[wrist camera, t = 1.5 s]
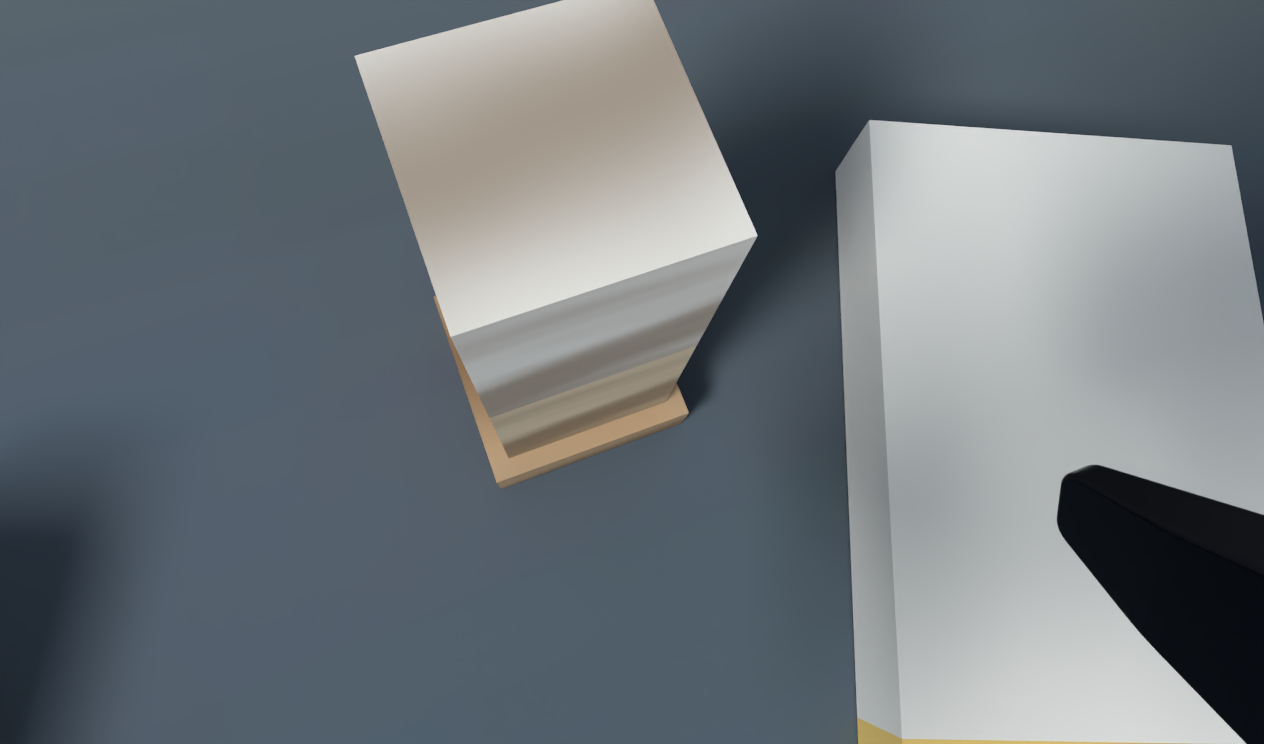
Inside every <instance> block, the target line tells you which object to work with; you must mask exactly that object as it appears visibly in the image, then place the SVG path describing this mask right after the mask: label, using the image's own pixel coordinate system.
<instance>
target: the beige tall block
mask: <svg viewBox="0 0 1264 744" xmlns="http://www.w3.org/2000/svg"><path fill="white" fill-rule="evenodd" d="M355 59H356V62H357V65H358V68H359V71H360V74H361V76H362V79H363V82H364V85H365V88H366V91H367V94H368V97H369V100H370V103H371V106H372V109H373V112H374V115H375V117H376V120H377V123H378V126H379V129H380V132H381V135H382V138H383V141H384V144H385V147H386V150H387V153H388V156H389V159H390V161H391V164H392V167H393V170H394V173H395V176H396V179H397V182H398V185H399V188H400V191H401V194H402V197H403V200H404V203H405V205H406V208H407V211H408V214H409V217H410V220H411V223H412V226H413V229H414V232H415V235H416V238H417V241H418V244H419V247H420V249H421V252H422V255H423V258H424V261H425V264H426V267H427V270H428V273H429V276H430V279H431V282H432V285H433V288H434V290H435V293H436V296H434V300H435V303H436V305H437V308H438V311H439V314H440V317H441V320H442V323H443V326H444V329H445V332H446V335H447V338H448V341H449V344H450V347H451V350H452V352H453V355H454V358H455V361H456V364H457V367H458V370H459V373H460V376H461V379H462V382H463V385H464V388H465V391H466V394H467V397H468V400H469V402H470V405H471V408H472V411H473V414H474V417H475V420H476V423H477V426H478V429H479V432H480V435H481V438H482V441H483V444H484V447H485V450H486V452H487V455H488V458H489V461H490V464H491V467H492V470H493V473H494V476H495V479H496V482H497V484H498V485H499V486H500V488H501V489H503V488H505V487H508V486H511V485H514V484H516V483H519V482H522V481H525V480H527V479H530V478H533V477H536V476H538V475H541V474H544V473H547V472H549V471H552V470H555V469H557V468H560V467H563V466H566V465H568V464H571V463H574V462H577V461H579V460H582V459H585V458H588V457H590V456H593V455H596V454H599V453H601V452H604V451H607V450H610V449H612V448H615V447H618V446H620V445H623V444H626V443H629V442H631V441H634V440H637V439H640V438H642V437H645V436H648V435H651V434H653V433H656V432H659V431H662V430H664V429H667V428H670V427H672V426H675V425H678V424H681V423H682V422H683V420H684V419H685V418H686V416H687V415H688V413H689V412H688V410H687V407H686V405H685V402H684V400H683V397H682V395H681V392H680V390H679V387H678V385H677V380H678V379H679V377H680V375H681V373H682V371H683V370H684V368H685V366H686V364H687V362H688V361H689V359H690V357H691V355H692V353H693V352H694V350H695V348H696V346H697V344H698V342H699V341H700V339H701V337H702V335H703V333H704V332H705V330H706V328H707V326H708V324H709V323H710V321H711V319H712V317H713V315H714V314H715V312H716V310H717V308H718V306H719V305H720V303H721V301H722V299H723V297H724V296H725V294H726V292H727V290H728V288H729V287H730V285H731V283H732V281H733V279H734V278H735V276H736V274H737V272H738V270H739V269H740V267H741V265H742V263H743V261H744V259H745V258H746V256H747V254H748V252H749V250H750V249H751V247H752V245H753V243H754V241H755V240H756V238H757V236H758V235H757V233H756V231H755V228H754V226H753V224H752V222H751V219H750V217H749V215H748V213H747V210H746V208H745V206H744V204H743V201H742V199H741V197H740V195H739V192H738V190H737V188H736V185H735V183H734V181H733V179H732V176H731V174H730V172H729V170H728V167H727V165H726V163H725V161H724V158H723V156H722V154H721V152H720V149H719V147H718V145H717V143H716V140H715V138H714V136H713V134H712V131H711V129H710V127H709V125H708V122H707V120H706V118H705V116H704V113H703V111H702V109H701V107H700V104H699V102H698V100H697V98H696V95H695V93H694V91H693V88H692V86H691V84H690V82H689V79H688V77H687V75H686V73H685V70H684V68H683V66H682V64H681V61H680V59H679V57H678V55H677V52H676V50H675V48H674V46H673V43H672V41H671V39H670V37H669V34H668V32H667V30H666V28H665V25H664V23H663V21H662V19H661V16H660V14H659V12H658V10H657V7H656V5H655V3H654V0H563V1H559V2H555V3H552V4H548V5H544V6H540V7H537V8H533V9H529V10H525V11H522V12H518V13H514V14H510V15H507V16H503V17H499V18H495V19H491V20H488V21H484V22H480V23H476V24H473V25H469V26H465V27H461V28H458V29H454V30H450V31H446V32H443V33H439V34H435V35H431V36H428V37H424V38H420V39H416V40H412V41H409V42H405V43H401V44H397V45H394V46H390V47H386V48H382V49H379V50H375V51H371V52H367V53H364V54H360V55H356V56H355Z"/></svg>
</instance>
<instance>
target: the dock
mask: <svg viewBox="0 0 1264 744" xmlns="http://www.w3.org/2000/svg"><path fill="white" fill-rule="evenodd" d="M835 176H836V200H837V225H838V250H839V275H840V300H841V325H842V350H843V375H844V399H845V424H846V449H847V474H848V499H849V524H850V549H851V574H852V598H853V623H854V648H855V673H856V698H857V723H858V744H1246V743H1245V742H1244V741H1243V740H1242V739H1241V738H1240V737H1239V736H1238V735H1237V734H1236V733H1235V732H1234V731H1233V730H1232V729H1231V727H1230V726H1229V725H1228V724H1227V723H1226V722H1225V721H1224V720H1223V719H1222V718H1221V717H1220V716H1219V715H1218V714H1217V713H1216V712H1215V711H1214V710H1213V709H1212V708H1211V707H1210V706H1209V705H1208V704H1207V703H1206V702H1205V701H1204V700H1203V699H1202V698H1201V696H1200V695H1199V694H1198V693H1197V692H1196V691H1195V690H1194V689H1193V688H1192V687H1191V686H1190V685H1189V684H1188V683H1187V682H1186V681H1185V680H1184V679H1183V678H1182V677H1181V676H1180V675H1179V674H1178V673H1177V672H1176V671H1175V670H1174V669H1173V668H1172V667H1171V666H1170V664H1169V663H1168V662H1167V661H1166V660H1165V659H1164V658H1163V657H1162V656H1161V655H1160V654H1159V653H1158V652H1157V651H1156V650H1155V649H1154V648H1153V647H1152V646H1151V645H1150V643H1149V642H1148V641H1147V640H1146V639H1145V638H1144V637H1143V636H1142V635H1141V634H1140V632H1139V631H1138V630H1137V629H1136V628H1135V627H1134V625H1133V624H1132V623H1131V622H1130V621H1129V620H1128V618H1127V617H1126V616H1125V615H1124V613H1123V612H1122V611H1121V610H1120V608H1119V607H1118V606H1117V605H1116V603H1115V602H1114V601H1113V600H1112V598H1111V597H1110V596H1109V595H1108V593H1107V592H1106V591H1105V590H1104V588H1103V587H1102V586H1101V585H1100V583H1099V582H1098V581H1097V580H1096V578H1095V577H1094V576H1093V575H1092V573H1091V572H1090V571H1089V570H1088V568H1087V567H1086V566H1085V565H1084V563H1083V562H1082V561H1081V560H1080V558H1079V557H1078V556H1077V555H1076V553H1075V552H1074V551H1073V550H1072V548H1071V547H1070V546H1069V545H1068V543H1067V542H1066V541H1065V540H1064V538H1063V537H1062V535H1061V533H1060V531H1059V528H1058V525H1057V511H1058V503H1059V495H1060V487H1061V482H1062V479H1063V477H1064V476H1065V475H1066V474H1068V473H1070V472H1073V471H1075V470H1077V469H1080V468H1082V467H1085V466H1088V465H1101V466H1105V467H1108V468H1111V469H1115V470H1118V471H1121V472H1124V473H1128V474H1131V475H1134V476H1138V477H1141V478H1144V479H1147V480H1151V481H1154V482H1157V483H1161V484H1164V485H1167V486H1170V487H1174V488H1177V489H1180V490H1184V491H1187V492H1190V493H1193V494H1197V495H1200V496H1203V497H1207V498H1210V499H1213V500H1216V501H1220V502H1223V503H1226V504H1230V505H1233V506H1236V507H1240V508H1243V509H1246V510H1249V511H1253V512H1256V513H1259V514H1263V515H1264V323H1263V317H1262V312H1261V306H1260V301H1259V295H1258V290H1257V284H1256V279H1255V273H1254V268H1253V262H1252V257H1251V251H1250V246H1249V240H1248V235H1247V229H1246V224H1245V218H1244V213H1243V207H1242V202H1241V196H1240V190H1239V185H1238V179H1237V174H1236V168H1235V163H1234V157H1233V152H1232V146H1231V145H1218V144H1204V143H1190V142H1175V141H1161V140H1147V139H1133V138H1119V137H1104V136H1090V135H1076V134H1062V133H1048V132H1033V131H1019V130H1005V129H991V128H976V127H962V126H948V125H934V124H920V123H905V122H891V121H877V120H869V121H868V123H867V124H866V126H865V127H864V129H863V130H862V132H861V133H860V135H859V136H858V138H857V139H856V141H855V142H854V144H853V145H852V147H851V148H850V150H849V151H848V153H847V155H846V156H845V158H844V159H843V161H842V162H841V164H840V165H839V167H838V168H837V170H836V171H835Z"/></svg>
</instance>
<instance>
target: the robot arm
mask: <svg viewBox="0 0 1264 744" xmlns="http://www.w3.org/2000/svg"><path fill="white" fill-rule="evenodd" d="M1057 525H1058V528H1059V531H1060V533H1061V535H1062V537H1063V538H1064V540H1065V541H1066V542H1067V543H1068V545H1069V546H1070V547H1071V548H1072V550H1073V551H1074V552H1075V553H1076V555H1077V556H1078V557H1079V558H1080V560H1081V561H1082V562H1083V563H1084V565H1085V566H1086V567H1087V568H1088V570H1089V571H1090V572H1091V573H1092V575H1093V576H1094V577H1095V578H1096V580H1097V581H1098V582H1099V583H1100V585H1101V586H1102V587H1103V588H1104V590H1105V591H1106V592H1107V593H1108V595H1109V596H1110V597H1111V598H1112V600H1113V601H1114V602H1115V603H1116V605H1117V606H1118V607H1119V608H1120V610H1121V611H1122V612H1123V613H1124V615H1125V616H1126V617H1127V618H1128V620H1129V621H1130V622H1131V623H1132V624H1133V625H1134V627H1135V628H1136V629H1137V630H1138V631H1139V632H1140V634H1141V635H1142V636H1143V637H1144V638H1145V639H1146V640H1147V641H1148V642H1149V643H1150V645H1151V646H1152V647H1153V648H1154V649H1155V650H1156V651H1157V652H1158V653H1159V654H1160V655H1161V656H1162V657H1163V658H1164V659H1165V660H1166V661H1167V662H1168V663H1169V664H1170V666H1171V667H1172V668H1173V669H1174V670H1175V671H1176V672H1177V673H1178V674H1179V675H1180V676H1181V677H1182V678H1183V679H1184V680H1185V681H1186V682H1187V683H1188V684H1189V685H1190V686H1191V687H1192V688H1193V689H1194V690H1195V691H1196V692H1197V693H1198V694H1199V695H1200V696H1201V698H1202V699H1203V700H1204V701H1205V702H1206V703H1207V704H1208V705H1209V706H1210V707H1211V708H1212V709H1213V710H1214V711H1215V712H1216V713H1217V714H1218V715H1219V716H1220V717H1221V718H1222V719H1223V720H1224V721H1225V722H1226V723H1227V724H1228V725H1229V726H1230V727H1231V729H1232V730H1233V731H1234V732H1235V733H1236V734H1237V735H1238V736H1239V737H1240V738H1241V739H1242V740H1243V741H1244V742H1245V743H1246V744H1264V515H1263V514H1259V513H1256V512H1253V511H1249V510H1246V509H1243V508H1240V507H1236V506H1233V505H1230V504H1226V503H1223V502H1220V501H1216V500H1213V499H1210V498H1207V497H1203V496H1200V495H1197V494H1193V493H1190V492H1187V491H1184V490H1180V489H1177V488H1174V487H1170V486H1167V485H1164V484H1161V483H1157V482H1154V481H1151V480H1147V479H1144V478H1141V477H1138V476H1134V475H1131V474H1128V473H1124V472H1121V471H1118V470H1115V469H1111V468H1108V467H1105V466H1101V465H1088V466H1085V467H1082V468H1080V469H1077V470H1075V471H1073V472H1070V473H1068V474H1066V475H1065V476H1064V477H1063V479H1062V482H1061V487H1060V495H1059V503H1058V511H1057Z"/></svg>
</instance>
